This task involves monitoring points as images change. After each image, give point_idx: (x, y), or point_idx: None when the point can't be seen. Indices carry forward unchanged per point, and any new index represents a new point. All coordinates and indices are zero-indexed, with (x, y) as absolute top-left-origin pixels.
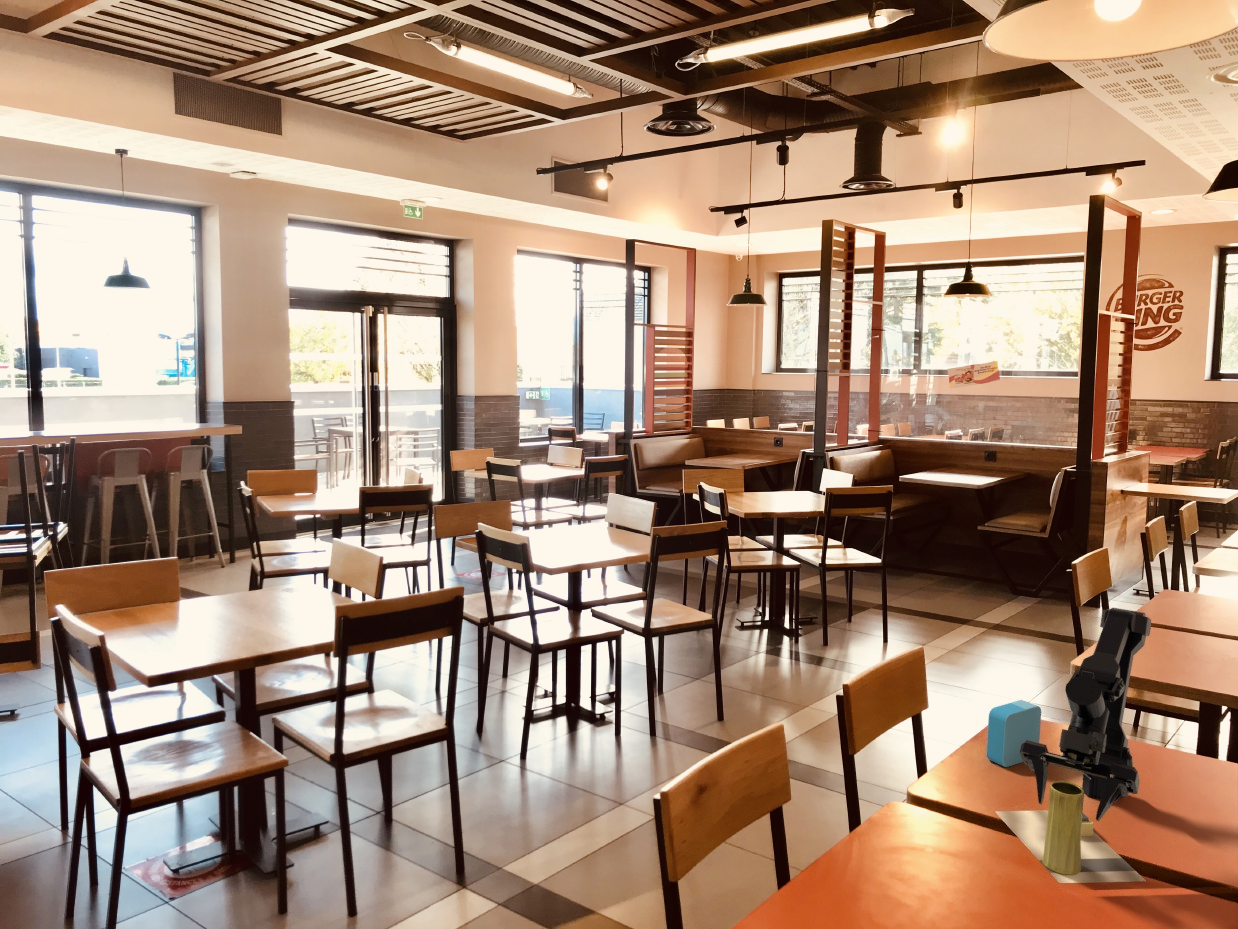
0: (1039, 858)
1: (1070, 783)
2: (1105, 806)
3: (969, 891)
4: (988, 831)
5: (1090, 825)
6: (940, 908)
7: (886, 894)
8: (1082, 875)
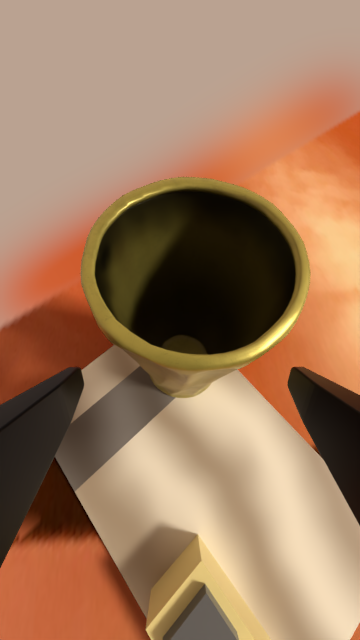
0: None
1: (195, 355)
2: (5, 404)
3: None
4: None
5: (154, 611)
6: (275, 181)
7: (333, 172)
8: None
